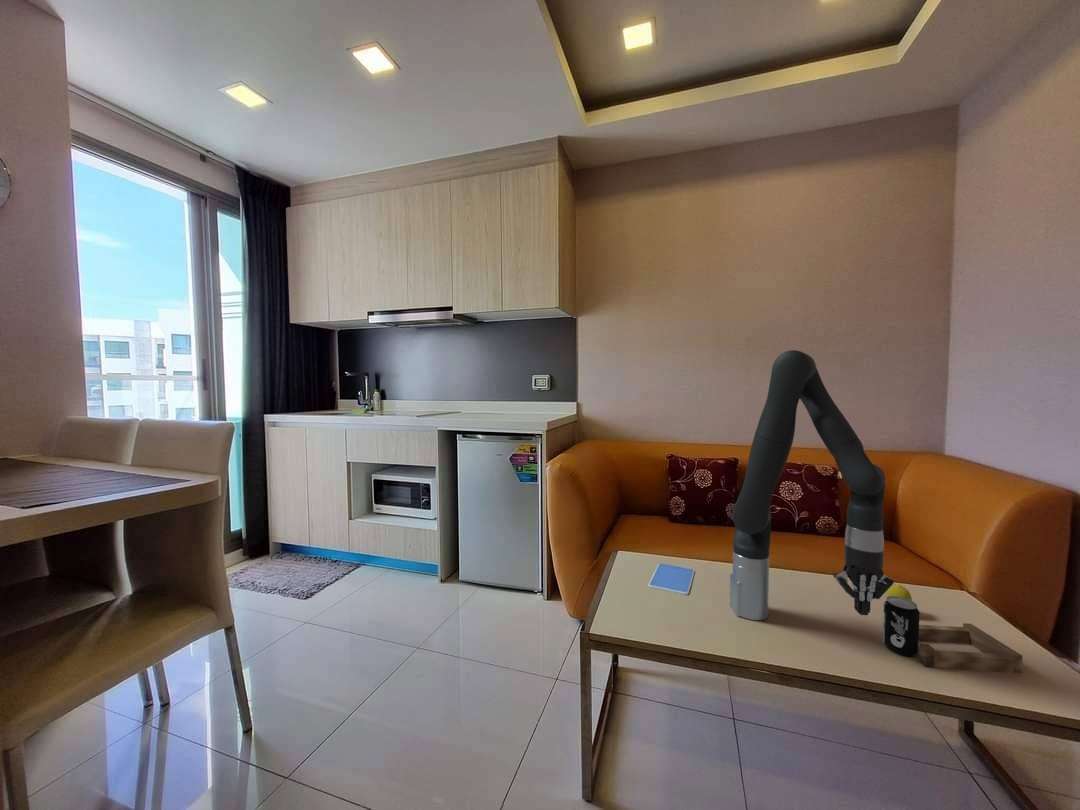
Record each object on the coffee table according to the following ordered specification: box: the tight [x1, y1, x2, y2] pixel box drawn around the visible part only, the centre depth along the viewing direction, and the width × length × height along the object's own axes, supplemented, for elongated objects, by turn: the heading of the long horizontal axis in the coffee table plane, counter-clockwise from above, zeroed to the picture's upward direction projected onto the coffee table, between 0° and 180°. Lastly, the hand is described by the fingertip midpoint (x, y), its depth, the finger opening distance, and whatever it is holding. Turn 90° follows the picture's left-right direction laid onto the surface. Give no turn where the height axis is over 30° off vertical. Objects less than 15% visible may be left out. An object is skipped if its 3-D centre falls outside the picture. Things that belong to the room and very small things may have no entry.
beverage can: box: [882, 596, 921, 657], centre depth 102 cm, size 7×7×12 cm
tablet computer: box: [647, 563, 696, 596], centre depth 140 cm, size 19×13×1 cm, turn 154°
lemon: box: [885, 584, 913, 601], centre depth 118 cm, size 6×6×8 cm
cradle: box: [918, 622, 1023, 674], centre depth 100 cm, size 20×13×4 cm, turn 84°
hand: (862, 613), depth 102 cm, fingers closed
